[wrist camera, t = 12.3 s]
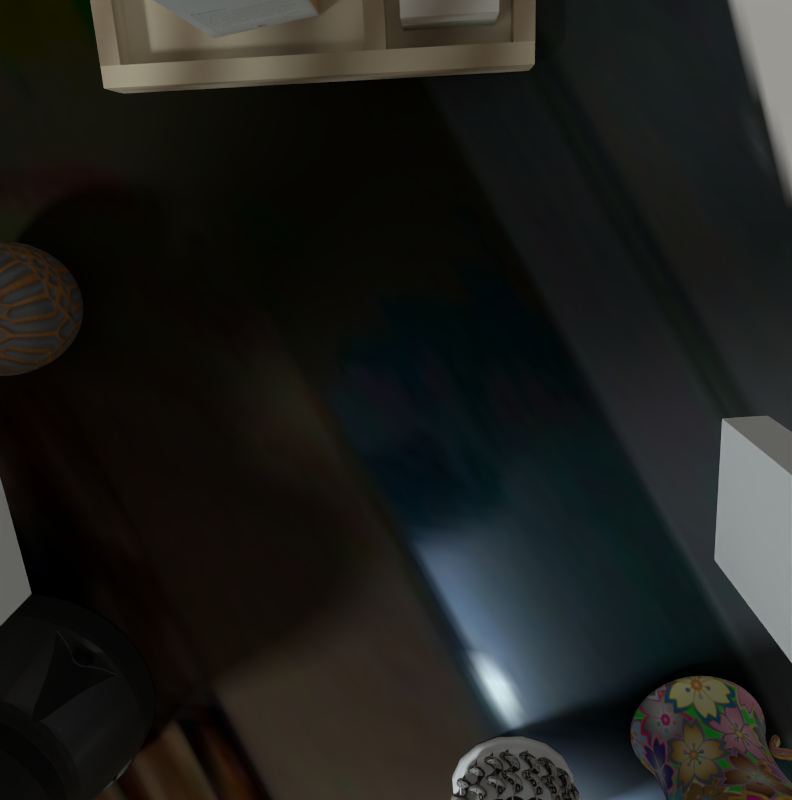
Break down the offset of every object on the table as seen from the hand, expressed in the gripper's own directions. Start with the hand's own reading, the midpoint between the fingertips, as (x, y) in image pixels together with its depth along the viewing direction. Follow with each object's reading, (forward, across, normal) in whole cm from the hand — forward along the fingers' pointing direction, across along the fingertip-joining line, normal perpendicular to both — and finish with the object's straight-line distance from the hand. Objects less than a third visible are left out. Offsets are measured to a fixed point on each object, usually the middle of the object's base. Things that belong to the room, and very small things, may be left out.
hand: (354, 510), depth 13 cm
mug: (+28, +18, -30) cm, 44 cm away
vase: (+28, -21, +1) cm, 35 cm away
